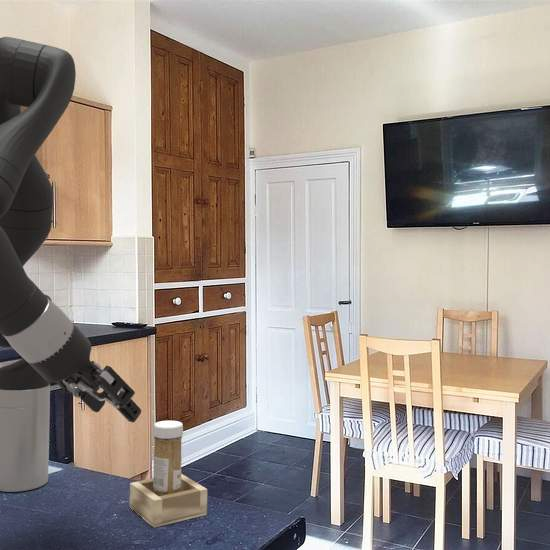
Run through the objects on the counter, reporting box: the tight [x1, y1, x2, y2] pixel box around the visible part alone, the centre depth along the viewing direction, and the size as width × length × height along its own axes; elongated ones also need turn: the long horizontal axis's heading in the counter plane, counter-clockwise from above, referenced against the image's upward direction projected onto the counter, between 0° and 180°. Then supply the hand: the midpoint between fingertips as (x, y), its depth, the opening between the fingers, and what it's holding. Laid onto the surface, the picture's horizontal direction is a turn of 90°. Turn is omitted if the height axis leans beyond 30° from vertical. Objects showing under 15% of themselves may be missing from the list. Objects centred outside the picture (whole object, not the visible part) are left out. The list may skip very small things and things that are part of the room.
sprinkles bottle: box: [152, 420, 184, 496], centre depth 98 cm, size 5×5×14 cm
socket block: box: [129, 473, 208, 529], centre depth 98 cm, size 9×9×4 cm
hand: (117, 411), depth 90 cm, fingers open, 8 cm apart
